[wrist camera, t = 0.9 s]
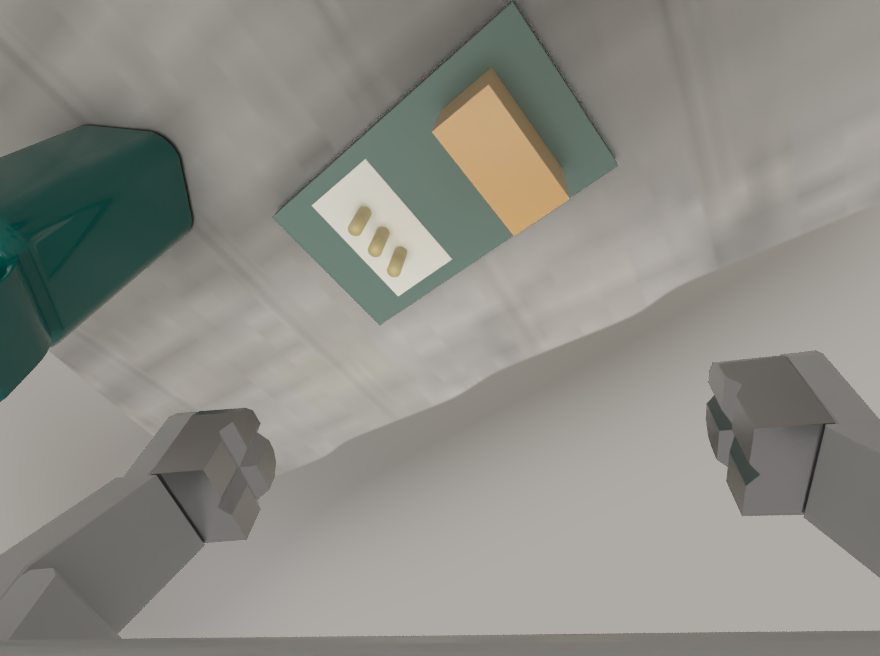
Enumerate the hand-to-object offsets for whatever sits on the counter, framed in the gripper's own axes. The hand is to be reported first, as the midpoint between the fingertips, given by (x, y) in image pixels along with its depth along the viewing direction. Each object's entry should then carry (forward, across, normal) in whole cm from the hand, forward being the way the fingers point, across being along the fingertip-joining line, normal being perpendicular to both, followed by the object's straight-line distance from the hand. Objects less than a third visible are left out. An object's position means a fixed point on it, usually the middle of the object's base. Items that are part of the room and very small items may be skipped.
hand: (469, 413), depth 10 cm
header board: (+31, +5, +6) cm, 32 cm away
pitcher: (+32, +27, +2) cm, 42 cm away
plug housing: (+30, 0, +3) cm, 30 cm away
